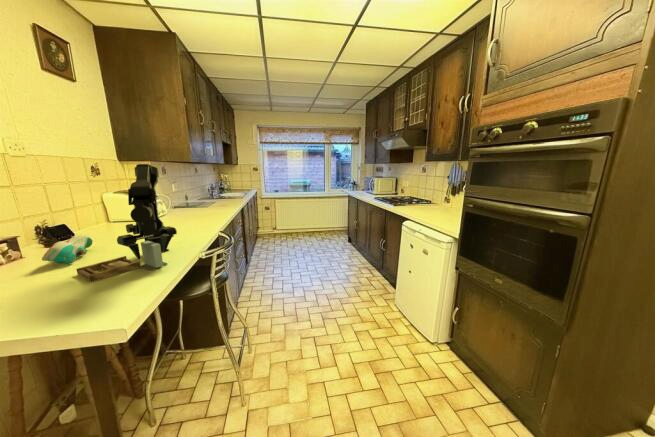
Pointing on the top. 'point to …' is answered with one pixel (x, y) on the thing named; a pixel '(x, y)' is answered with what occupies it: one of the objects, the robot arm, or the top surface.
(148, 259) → the grey square block
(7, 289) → the top surface
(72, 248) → the athletic shoe
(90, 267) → the rack
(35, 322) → the top surface
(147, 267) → the rubber mat
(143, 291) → the top surface
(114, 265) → the offcut stack
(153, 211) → the robot arm
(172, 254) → the top surface
